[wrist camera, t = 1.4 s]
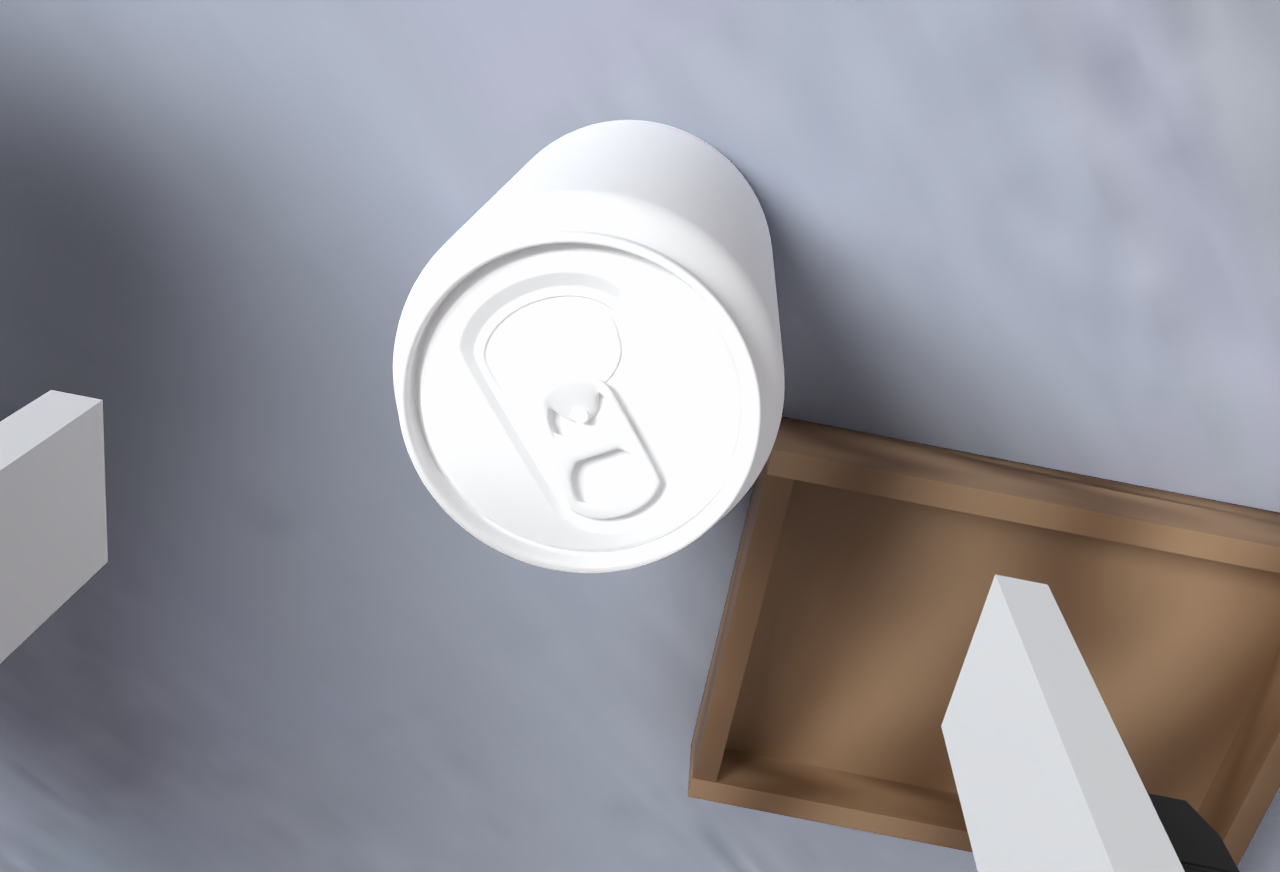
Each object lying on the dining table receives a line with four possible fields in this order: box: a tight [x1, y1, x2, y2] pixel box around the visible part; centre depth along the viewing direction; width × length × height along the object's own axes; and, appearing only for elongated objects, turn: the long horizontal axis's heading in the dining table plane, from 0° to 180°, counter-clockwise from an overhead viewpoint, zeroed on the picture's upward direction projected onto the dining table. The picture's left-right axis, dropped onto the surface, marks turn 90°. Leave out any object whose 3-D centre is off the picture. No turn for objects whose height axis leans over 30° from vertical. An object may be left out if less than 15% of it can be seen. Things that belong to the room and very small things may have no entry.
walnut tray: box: [688, 417, 1280, 866], centre depth 35 cm, size 18×13×3 cm
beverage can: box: [393, 120, 785, 573], centre depth 27 cm, size 8×8×12 cm
